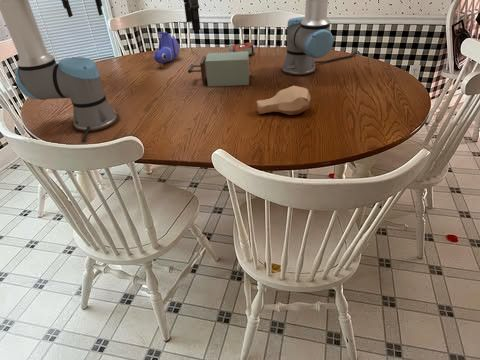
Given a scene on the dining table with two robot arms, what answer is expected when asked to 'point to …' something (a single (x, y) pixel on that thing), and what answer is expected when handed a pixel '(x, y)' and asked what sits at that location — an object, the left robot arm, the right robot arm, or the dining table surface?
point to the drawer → (203, 70)
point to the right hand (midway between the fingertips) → (193, 25)
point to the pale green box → (227, 69)
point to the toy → (166, 49)
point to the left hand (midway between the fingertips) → (85, 15)
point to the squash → (286, 101)
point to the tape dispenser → (242, 48)
